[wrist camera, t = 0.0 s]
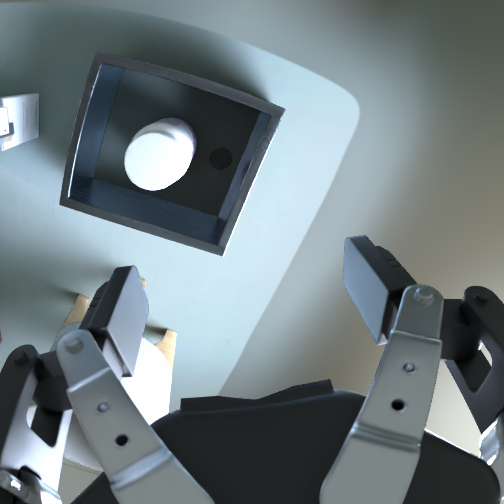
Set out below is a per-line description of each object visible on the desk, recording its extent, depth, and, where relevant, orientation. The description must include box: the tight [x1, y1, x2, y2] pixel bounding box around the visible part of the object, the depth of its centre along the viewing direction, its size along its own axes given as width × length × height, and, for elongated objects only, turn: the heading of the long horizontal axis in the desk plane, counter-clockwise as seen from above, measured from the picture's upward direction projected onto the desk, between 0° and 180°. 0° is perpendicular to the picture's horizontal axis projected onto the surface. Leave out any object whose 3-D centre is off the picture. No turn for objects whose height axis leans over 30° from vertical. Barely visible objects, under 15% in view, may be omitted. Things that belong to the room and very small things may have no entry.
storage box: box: [59, 52, 286, 256], centre depth 24 cm, size 15×13×6 cm
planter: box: [27, 278, 177, 472], centre depth 28 cm, size 13×13×18 cm
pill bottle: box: [124, 118, 197, 190], centre depth 23 cm, size 5×5×8 cm
